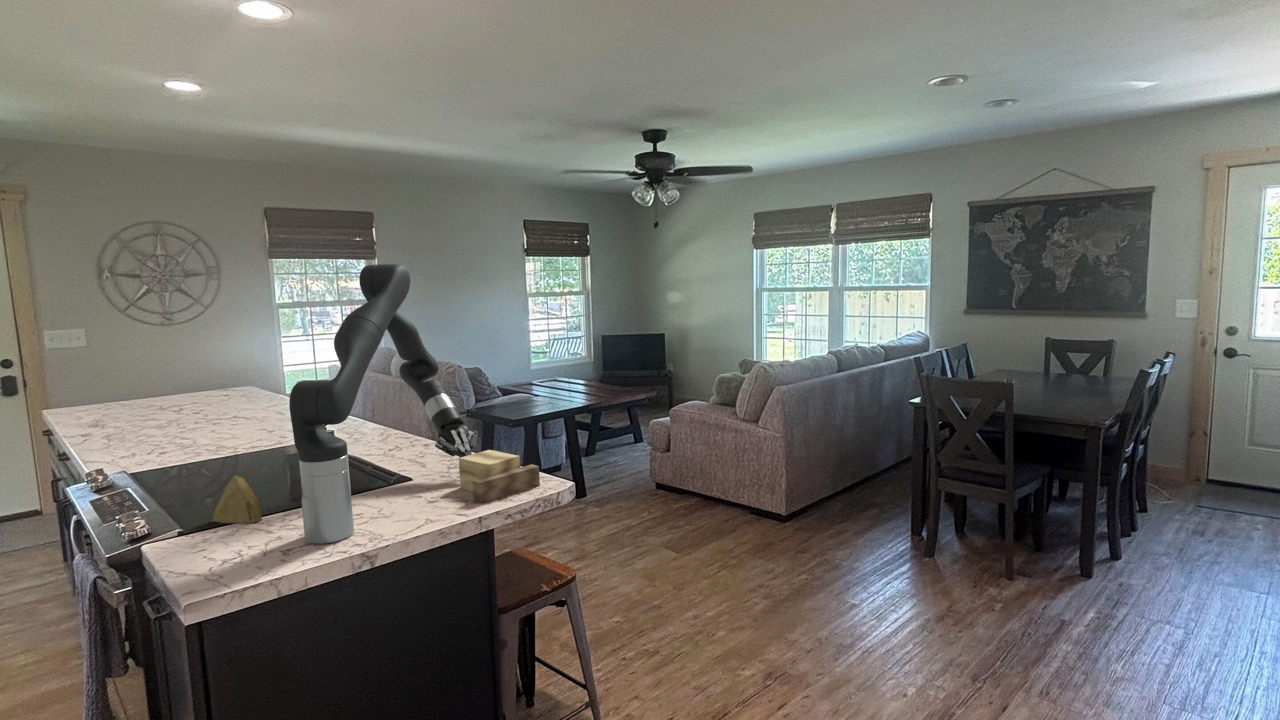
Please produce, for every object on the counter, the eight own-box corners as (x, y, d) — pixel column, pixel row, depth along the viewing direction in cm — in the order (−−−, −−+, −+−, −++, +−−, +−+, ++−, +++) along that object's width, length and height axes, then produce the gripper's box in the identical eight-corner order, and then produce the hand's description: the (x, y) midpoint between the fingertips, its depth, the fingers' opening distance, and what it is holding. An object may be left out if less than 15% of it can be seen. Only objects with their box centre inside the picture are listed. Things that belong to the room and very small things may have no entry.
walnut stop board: (480, 503, 161) (479, 483, 160) (473, 500, 163) (472, 480, 162) (539, 485, 174) (539, 466, 173) (532, 482, 176) (531, 464, 175)
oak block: (490, 496, 167) (488, 465, 166) (460, 488, 174) (458, 458, 173) (521, 485, 174) (519, 455, 173) (490, 478, 182) (489, 449, 181)
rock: (276, 508, 154) (262, 494, 161) (249, 486, 149) (236, 472, 156) (235, 546, 149) (222, 529, 156) (206, 524, 144) (194, 507, 151)
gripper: (426, 410, 179) (453, 462, 172) (469, 402, 188) (497, 451, 182) (417, 426, 183) (444, 478, 176) (459, 418, 193) (486, 467, 186)
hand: (471, 465), depth 179 cm, fingers closed
